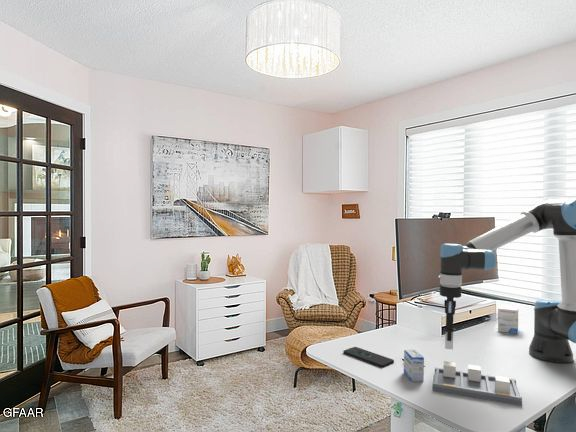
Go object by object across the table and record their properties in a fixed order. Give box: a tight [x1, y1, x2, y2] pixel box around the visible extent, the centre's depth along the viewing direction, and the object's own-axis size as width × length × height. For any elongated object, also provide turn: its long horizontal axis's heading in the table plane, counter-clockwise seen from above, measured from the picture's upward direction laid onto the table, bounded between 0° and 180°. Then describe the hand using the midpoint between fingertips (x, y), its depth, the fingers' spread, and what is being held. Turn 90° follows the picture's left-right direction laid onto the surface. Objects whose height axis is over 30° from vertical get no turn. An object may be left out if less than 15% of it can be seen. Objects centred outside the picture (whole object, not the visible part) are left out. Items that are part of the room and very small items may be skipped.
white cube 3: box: [442, 360, 457, 378], centre depth 141 cm, size 4×4×4 cm
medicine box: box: [403, 349, 425, 382], centre depth 143 cm, size 8×4×9 cm, turn 5°
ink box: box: [497, 304, 519, 335], centre depth 197 cm, size 9×8×12 cm
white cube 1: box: [494, 375, 510, 394], centre depth 129 cm, size 4×4×4 cm
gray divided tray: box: [432, 366, 523, 406], centre depth 135 cm, size 26×15×2 cm, turn 67°
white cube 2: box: [467, 364, 482, 382], centre depth 138 cm, size 4×4×4 cm
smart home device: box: [342, 346, 395, 369], centre depth 161 cm, size 8×2×20 cm
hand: (449, 348), depth 148 cm, fingers closed
